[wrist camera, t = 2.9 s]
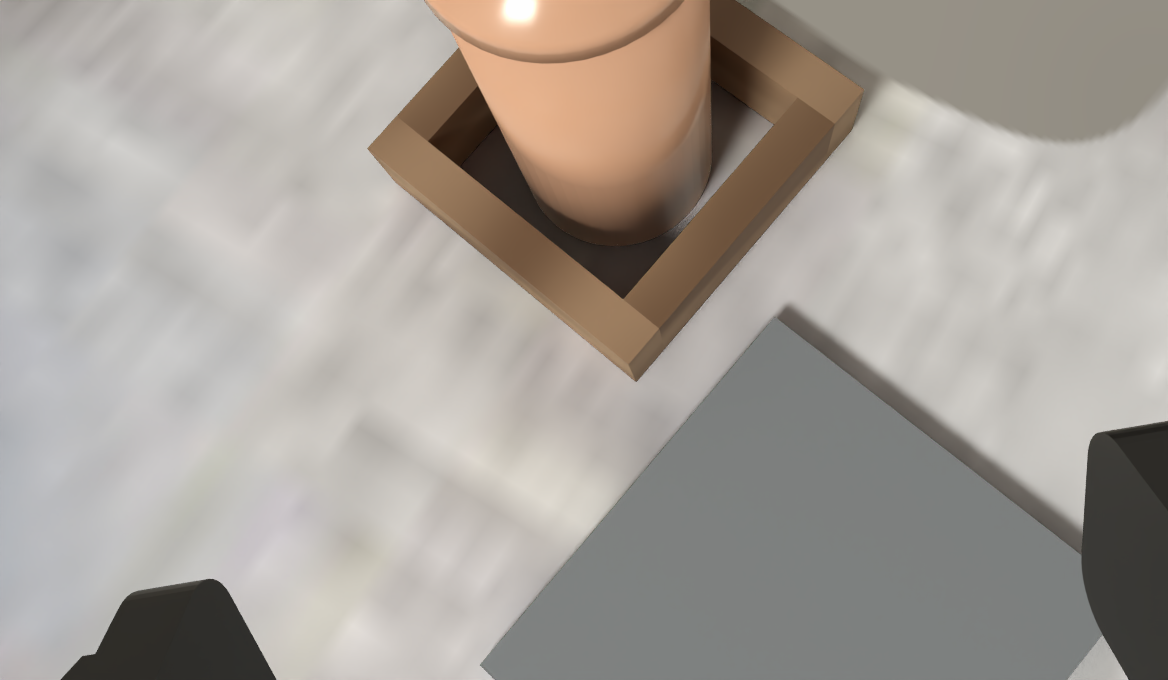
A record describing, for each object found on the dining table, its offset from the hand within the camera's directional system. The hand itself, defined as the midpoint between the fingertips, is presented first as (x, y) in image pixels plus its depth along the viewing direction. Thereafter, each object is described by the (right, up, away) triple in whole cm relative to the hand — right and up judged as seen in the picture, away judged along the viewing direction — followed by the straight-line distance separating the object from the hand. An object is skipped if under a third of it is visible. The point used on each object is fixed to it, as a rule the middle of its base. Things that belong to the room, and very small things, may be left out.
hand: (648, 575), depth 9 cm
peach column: (0, +8, +20) cm, 21 cm away
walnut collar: (0, +8, +20) cm, 21 cm away
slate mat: (+5, -5, +16) cm, 18 cm away
